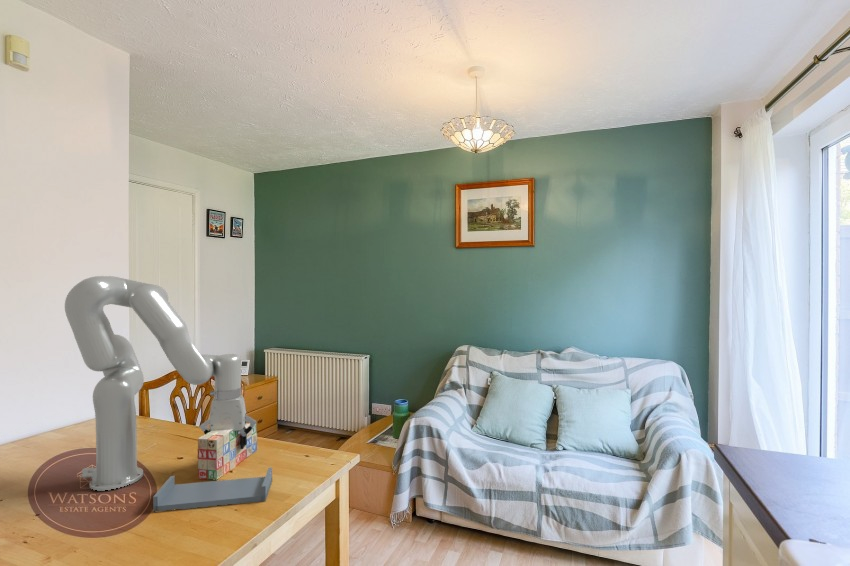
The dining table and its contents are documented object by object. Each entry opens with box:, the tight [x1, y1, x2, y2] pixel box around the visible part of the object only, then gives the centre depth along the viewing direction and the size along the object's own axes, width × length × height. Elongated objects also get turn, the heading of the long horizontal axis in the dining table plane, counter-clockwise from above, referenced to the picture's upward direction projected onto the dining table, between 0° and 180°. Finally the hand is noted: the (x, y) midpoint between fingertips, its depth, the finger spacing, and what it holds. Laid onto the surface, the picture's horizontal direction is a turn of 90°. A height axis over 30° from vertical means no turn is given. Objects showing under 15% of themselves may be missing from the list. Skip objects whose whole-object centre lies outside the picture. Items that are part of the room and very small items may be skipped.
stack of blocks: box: [197, 422, 258, 481], centre depth 132 cm, size 21×6×12 cm, turn 171°
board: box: [152, 467, 273, 513], centre depth 113 cm, size 27×11×4 cm, turn 102°
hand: (228, 448), depth 132 cm, fingers closed on stack of blocks, 7 cm apart
